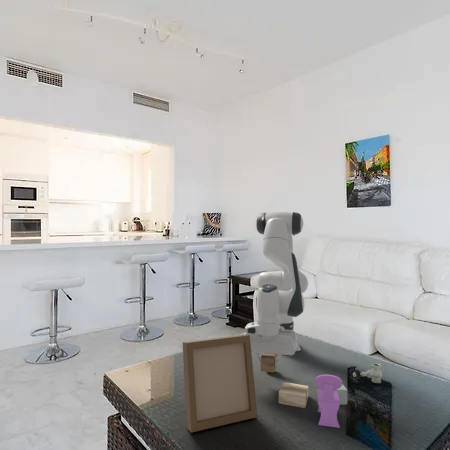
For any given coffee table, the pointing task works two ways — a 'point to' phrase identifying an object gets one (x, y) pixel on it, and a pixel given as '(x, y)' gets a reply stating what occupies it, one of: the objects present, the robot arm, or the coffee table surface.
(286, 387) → the beech block
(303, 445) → the coffee table surface
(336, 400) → the toy chair
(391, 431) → the coffee table surface
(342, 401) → the grey-green cube
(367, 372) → the valve
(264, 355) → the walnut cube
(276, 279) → the robot arm
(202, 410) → the photo frame
